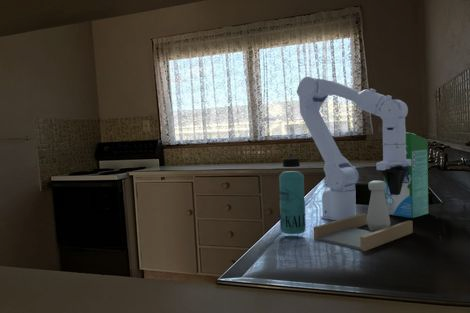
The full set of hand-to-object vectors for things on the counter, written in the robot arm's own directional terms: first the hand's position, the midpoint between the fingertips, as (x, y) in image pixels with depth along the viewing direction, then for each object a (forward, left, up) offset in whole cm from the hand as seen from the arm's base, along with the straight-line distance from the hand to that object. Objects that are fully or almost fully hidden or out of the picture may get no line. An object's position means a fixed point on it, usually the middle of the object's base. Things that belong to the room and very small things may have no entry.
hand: (395, 194), depth 103 cm
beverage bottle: (-12, -28, -9) cm, 31 cm away
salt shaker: (0, -9, -9) cm, 12 cm away
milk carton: (-5, +15, -9) cm, 18 cm away
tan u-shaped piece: (0, -15, -8) cm, 17 cm away
